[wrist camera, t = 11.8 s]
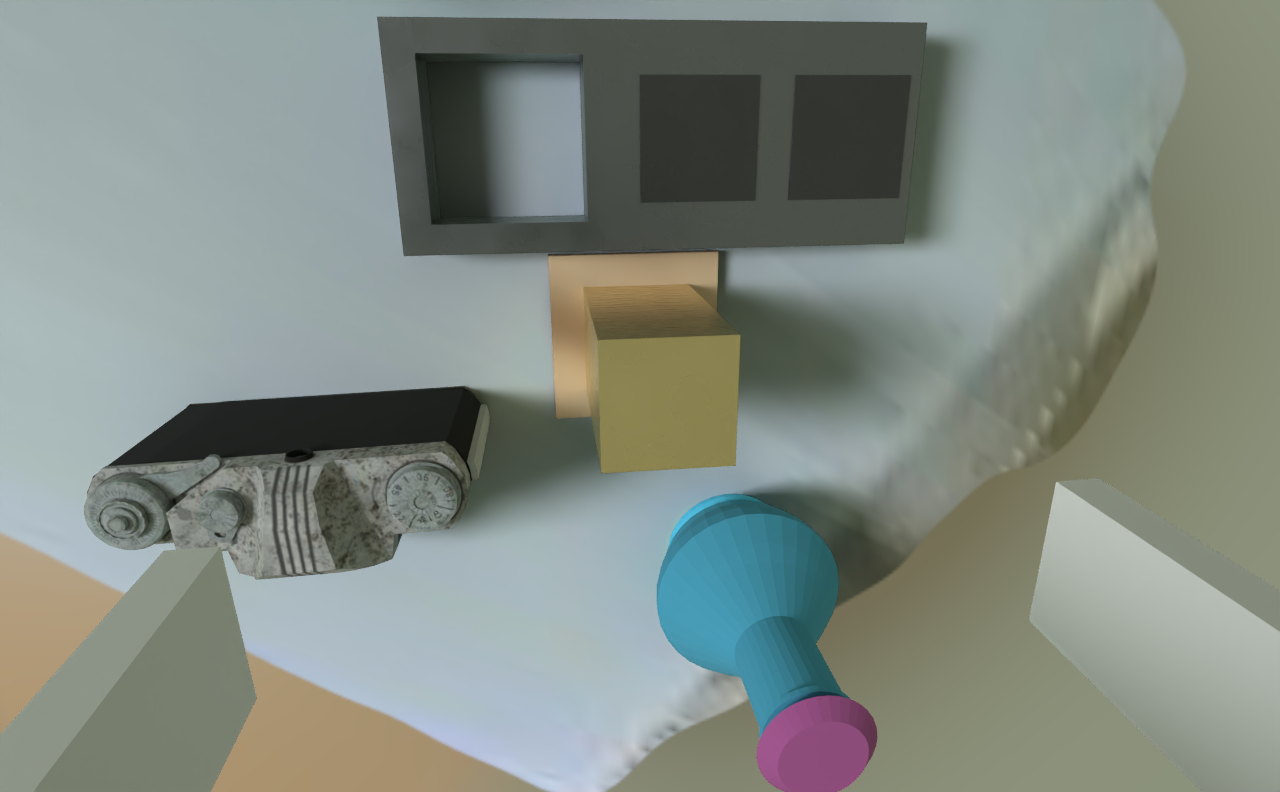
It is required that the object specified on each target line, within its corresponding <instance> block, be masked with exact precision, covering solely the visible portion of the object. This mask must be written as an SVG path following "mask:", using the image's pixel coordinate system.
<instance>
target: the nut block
mask: <svg viewBox="0 0 1280 792" xmlns="http://www.w3.org/2000/svg"><path fill="white" fill-rule="evenodd" d="M583 299H584V331H585V362H586V389H587V395H588V401H589V406H590V412H591V418H592V423H593V429H594V435H595V441H596V446H597V452H598V458H599V464H600V469H601V473H616V472H633V471H650V470H668V469H685V468H702V467H719V466H735V463H736V438H737V412H738V386H739V361H740V334H739V333H738V332H737V331H736V330H735V329H734V328H733V327H732V326H731V325H730V324H729V323H728V322H727V321H726V320H725V319H724V318H723V317H722V316H721V315H719V314H718V313H717V312H716V311H715V310H714V309H713V308H712V307H711V306H710V305H709V304H708V303H707V302H706V301H705V300H704V299H703V298H702V297H701V296H700V295H699V294H698V293H697V292H696V291H695V290H694V289H693V288H691V287H690V286H689V285H688V284H672V285H637V286H603V287H583Z"/></svg>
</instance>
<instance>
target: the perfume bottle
mask: <svg viewBox="0 0 1280 792" xmlns="http://www.w3.org/2000/svg"><path fill="white" fill-rule="evenodd" d="M838 589H839V578H838V569H837V565H836V563H835V560H834V557H833V555H832V552H831V551H830V549H829V548H828V546H827V545H826V543H825V542H824V540H823V539H822V538H821V537H820V536H819V535H818V534H817V533H816V532H815V531H814V530H813V529H811V528H810V527H809V526H808V525H807V524H806V523H805V522H804V521H802V520H800V519H799V518H797V517H795V516H793V515H792V514H790V513H788V512H786V511H784V510H781V509H778V508H775V507H772V506H770V505H767V504H765V503H763V502H762V501H760V500H758V499H756V498H753V497H750V496H747V495H740V494H724V495H720V496H715V497H711V498H709V499H707V500H705V501H702V502H700V503H699V504H697V505H696V506H694V507H693V508H691V509H690V510H689V511H688V512H687V513H686V514H685V515H684V516H683V517H682V518H681V519H680V521H679V522H678V523H677V525H676V526H675V528H674V531H673V533H672V535H671V538H670V542H669V547H668V550H667V554H666V556H665V558H664V560H663V563H662V567H661V570H660V575H659V579H658V583H657V608H658V615H659V619H660V624H661V627H662V629H663V631H664V633H665V635H666V637H667V639H668V641H669V642H670V643H671V645H672V646H673V647H674V648H675V649H676V651H677V652H678V653H680V654H681V655H682V656H684V657H685V658H686V659H687V660H689V661H690V662H692V663H694V664H696V665H698V666H700V667H702V668H705V669H708V670H712V671H716V672H719V673H723V674H727V675H730V676H738V677H741V678H742V681H743V684H744V687H745V689H746V692H747V695H748V697H749V700H750V703H751V705H752V708H753V711H754V714H755V716H756V719H757V722H758V724H759V727H760V733H759V738H760V741H759V744H758V747H757V762H758V766H759V769H760V771H761V773H762V775H763V776H764V777H765V779H766V780H767V781H768V782H769V783H770V784H772V785H773V786H774V787H776V788H778V789H780V790H782V791H785V792H837V791H840V790H842V789H844V788H845V787H847V786H849V785H850V784H851V783H852V782H854V781H855V780H856V779H857V778H858V777H859V775H860V774H861V773H862V771H863V770H864V768H865V767H866V765H867V764H868V762H869V760H870V759H871V757H872V755H873V752H874V750H875V747H876V742H877V728H876V725H875V722H874V719H873V717H872V716H871V715H870V713H869V712H868V710H867V709H865V708H864V707H863V706H862V705H860V704H859V703H857V702H855V701H853V700H851V699H850V698H849V697H848V696H846V694H844V693H843V692H842V691H841V690H840V687H839V686H838V684H837V682H836V680H835V678H834V677H833V675H832V673H831V671H830V669H829V667H828V666H827V664H826V662H825V660H824V658H823V656H822V654H821V653H820V651H819V649H818V647H817V645H816V643H817V641H818V640H819V638H820V637H821V635H822V633H823V631H824V629H825V628H826V626H827V624H828V622H829V620H830V618H831V616H832V614H833V611H834V608H835V604H836V601H837V598H838Z"/></svg>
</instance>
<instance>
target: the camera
mask: <svg viewBox="0 0 1280 792" xmlns="http://www.w3.org/2000/svg"><path fill="white" fill-rule="evenodd" d="M489 424H490V415H489V410H488V408H487V405H481V404H480V402H479V401H478V399H477V398H476V396H475V395H474V394H473V393H472V392H471V391H470V390H468V389H467V388H466V387H465V386H455V387H440V388H425V389H409V390H394V391H379V392H364V393H349V394H333V395H318V396H303V397H289V398H276V399H261V400H245V401H229V402H216V403H198V404H190V405H189V406H188V407H187V408H186V409H184V410H183V411H182V412H180V413H179V414H178V415H176V416H175V417H173V418H172V419H171V420H169V421H168V422H167V423H165V424H164V425H163V426H161V427H160V428H158V429H157V430H156V431H154V432H153V433H152V434H150V435H149V436H148V437H146V438H145V439H143V440H142V441H141V442H139V443H138V444H137V445H135V446H134V447H133V448H131V449H130V450H128V451H127V452H126V453H124V454H123V455H122V456H120V457H119V458H118V459H116V460H115V461H114V462H112V463H111V464H109V465H108V466H105V467H104V468H103V469H101V470H100V471H99V472H98V473H97V474H96V475H94V476H93V478H92V481H91V484H90V487H89V489H88V492H87V500H86V503H85V506H84V515H85V520H86V523H87V525H88V527H89V528H90V529H91V531H92V532H93V534H94V535H95V536H96V537H98V538H99V539H100V540H102V541H103V542H105V543H106V544H108V545H110V546H113V547H116V548H120V549H125V550H138V549H144V548H146V547H149V546H151V545H153V544H162V543H174V544H175V548H176V550H181V549H194V548H207V547H221V551H227V550H228V552H229V554H230V556H231V558H232V560H233V562H234V564H235V566H236V568H237V570H238V572H239V573H240V574H245V575H249V576H254V577H255V579H271V578H282V577H293V576H304V575H315V574H326V573H337V572H345V571H351V570H357V569H361V568H366V567H370V566H375V565H377V564H380V563H383V562H385V561H388V560H391V559H392V558H393V556H394V554H395V551H396V549H397V547H398V544H399V541H400V538H401V536H402V533H411V532H421V531H432V530H442V529H452V527H453V526H454V525H455V524H456V523H457V522H458V521H459V520H460V518H461V515H462V513H463V511H464V508H465V506H466V502H467V498H468V493H469V488H470V484H471V480H477V479H479V475H480V470H481V465H482V459H483V454H484V449H485V444H486V439H487V434H488V429H489Z"/></svg>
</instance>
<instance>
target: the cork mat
mask: <svg viewBox="0 0 1280 792" xmlns="http://www.w3.org/2000/svg"><path fill="white" fill-rule="evenodd" d="M548 260H549V281H550V302H551V323H552V343H553V364H554V385H555V405H556V419H558V418H577V417H591V412H590V406H589V401H588V395H587V389H586V362H585V331H584V299H583V287H603V286H637V285H672V284H688V285H689V286H690V287H691V288H693V289H694V290H695V291H696V292H697V293H698V294H699V295H700V296H701V297H702V298H703V299H704V300H705V301H706V302H707V303H708V304H709V305H710V306H711V307H712V308H713V309H714V310H715V311H716V312H717V285H718V251H716V250H700V251H661V252H621V253H582V254H548Z"/></svg>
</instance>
